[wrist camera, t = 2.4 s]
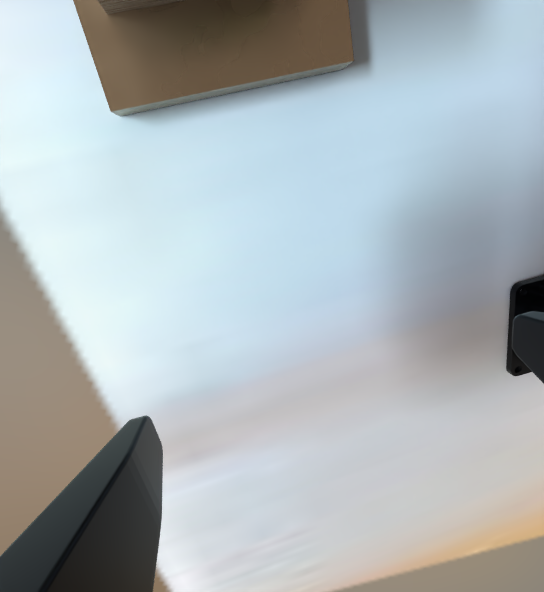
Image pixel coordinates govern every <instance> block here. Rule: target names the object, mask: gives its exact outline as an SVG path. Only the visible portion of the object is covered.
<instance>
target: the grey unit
mask: <svg viewBox="0 0 544 592" xmlns="http://www.w3.org/2000/svg"><path fill="white" fill-rule="evenodd" d="M73 1H74V4H75V7H76V10H77V13H78V16H79V19H80V22H81V25H82V28H83V31H84V34H85V36H86V39H87V42H88V45H89V48H90V51H91V54H92V57H93V60H94V63H95V66H96V69H97V72H98V75H99V78H100V81H101V84H102V87H103V90H104V93H105V96H106V99H107V102H108V105H109V108H110V111H111V112H112V113H114V114H116V115H118V116H124V115H129V114H134V113H139V112H143V111H148V110H153V109H158V108H162V107H167V106H172V105H177V104H181V103H186V102H191V101H196V100H200V99H205V98H210V97H215V96H219V95H224V94H229V93H234V92H239V91H243V90H248V89H253V88H258V87H262V86H267V85H272V84H277V83H281V82H286V81H291V80H296V79H300V78H305V77H310V76H315V75H319V74H324V73H329V72H334V71H339V70H342V69H344V68H345V67H346V66H348V65H349V64H350V63H352V62H353V61H354V58H353V48H352V38H351V28H350V18H349V8H348V0H73Z"/></svg>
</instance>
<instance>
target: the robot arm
mask: <svg viewBox="0 0 544 592" xmlns="http://www.w3.org/2000/svg"><path fill="white" fill-rule="evenodd" d="M521 290H522V291H521ZM520 291H521V292H520ZM506 369H507V371H508V372H509V373H510V374H512V375H513V376H519V375H523V374H526V373H530V372H533V373H534V374H535V375H536V376H537V377H538V378H539V379H540V380H541V381H542V382H543V383H544V276H541V277H537V278H534V279H530V280H526V281H522V282H518V283H516V284H515V285H514V286H513V287H512V288H511V292H510V309H509V328H508V347H507V366H506ZM162 470H163V450H162V444H161V441H160V439H159V436H158V434H157V432H156V429H155V427H154V425H153V422H152V420H151V419H150V417H149V416H142V417H138V418H135V419H131V420H129V421H128V422H127V423H126V424H125V425H124V426H123V428H122V429H121V430H120V431H119V432H118V433H117V434H116V435H115V436H114V437H113V438H112V439H111V440H110V441H109V442H108V443H107V444H106V446H104V448H103V449H102V450H101V451H100V452H99V453H98V454H97V455H96V456H95V457H94V458H93V459H92V460H91V461H90V462H89V463H88V464H87V465H86V467H85V468H84V469H83V470H82V471H81V472H80V473H79V474H78V475H77V476H76V477H75V478H74V479H73V480H72V481H71V482H70V484H68V486H67V487H66V488H65V489H64V490H63V491H62V492H61V493H60V494H59V495H58V496H57V497H56V498H55V499H54V500H53V501H52V502H51V503H50V504H49V505H48V507H47V508H46V509H45V510H44V511H43V512H42V513H41V514H40V515H39V516H38V517H37V518H36V519H35V520H34V521H33V522H32V523H31V524H30V525H29V526H28V528H27V529H26V530H25V531H24V532H23V533H22V534H21V535H20V536H19V537H18V538H17V539H16V540H15V541H14V542H13V543H12V544H11V546H10V547H9V548H8V549H7V550H6V551H5V552H4V553H3V554H2V555H1V556H0V592H153V585H154V578H155V570H156V562H157V554H158V546H159V538H160V529H161V519H162Z"/></svg>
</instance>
